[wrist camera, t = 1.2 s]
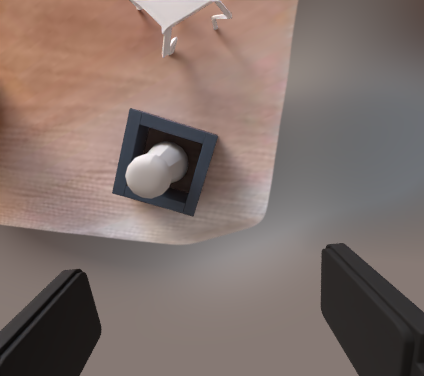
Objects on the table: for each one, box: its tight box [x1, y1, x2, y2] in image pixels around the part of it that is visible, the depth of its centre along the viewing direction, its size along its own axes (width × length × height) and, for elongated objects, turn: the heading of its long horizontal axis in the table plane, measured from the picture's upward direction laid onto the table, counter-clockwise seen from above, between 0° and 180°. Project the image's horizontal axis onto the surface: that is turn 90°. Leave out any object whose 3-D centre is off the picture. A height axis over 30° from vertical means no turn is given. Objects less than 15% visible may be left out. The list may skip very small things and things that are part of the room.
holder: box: [112, 108, 218, 216], centre depth 31 cm, size 11×11×5 cm
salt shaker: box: [125, 141, 189, 199], centre depth 27 cm, size 6×6×13 cm
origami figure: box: [130, 0, 232, 58], centre depth 27 cm, size 12×8×5 cm
